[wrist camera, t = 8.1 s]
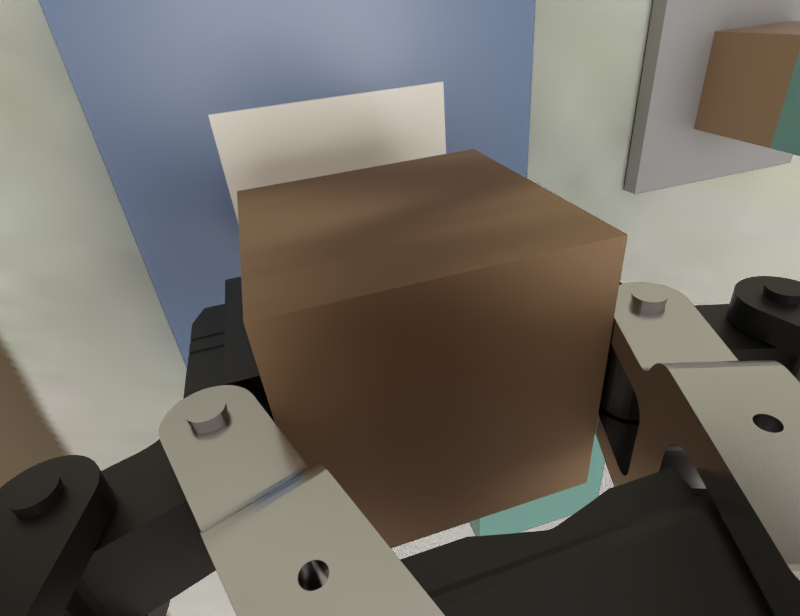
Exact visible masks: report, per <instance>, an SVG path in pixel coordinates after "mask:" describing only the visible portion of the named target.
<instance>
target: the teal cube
mask: <svg viewBox="0 0 800 616" xmlns="http://www.w3.org/2000/svg"><path fill="white" fill-rule="evenodd" d="M604 464H605V459H604V456H603V453H602V451H601V448H600V445H599V442H598V439H597V437H596V434H595V436H594V442H593V449H592V455H591V461H590V467H589V473H588V479H587V483H584V484H581V485H578V486H575V487H572V488H569V489H566V490H563V491H560V492H557V493H554V494H551V495H548V496H545V497H542V498H539V499H536V500H533V501H530V502H527V503H524V504H521V505H518V506H515V507H512V508H510V509H507V510H504V511H501V512H498V513H495V514H492V515H489V516H486V517H483V518H480V519H477V520H474V521H471V522H469V523H470V525H471V527H472V529H473V532H474V534H475V536H486V535H499V534H511V533H519V532H522V531H525V530H528V529H531V528H534V527H537V526H540V525H543V524H546V523H549V522H552V521H555V520H558V519H561V518H564V517H567V516H570V515H572V514H575V513H576V512H577V511H579V510H580V509H582V508H583V507H584V506H586V505H587V504H589V503H590V502H591V501H593V500H594V499H595V498H597V497H598V495H599V490H600V485H601V480H602V474H603V469H604Z"/></svg>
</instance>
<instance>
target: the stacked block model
mask: <svg viewBox="0 0 800 616" xmlns="http://www.w3.org/2000/svg"><path fill="white" fill-rule="evenodd" d="M793 154H794V155H798V156H800V0H653V6H652V13H651V19H650V26H649V32H648V38H647V45H646V51H645V58H644V64H643V71H642V77H641V84H640V90H639V96H638V103H637V109H636V116H635V122H634V129H633V135H632V141H631V148H630V154H629V161H628V167H627V174H626V180H625V187H624V190H627V191H629V192H631V193H633V194H638V193H643V192H648V191H653V190H658V189H663V188H668V187H673V186H678V185H683V184H688V183H692V182H697V181H702V180H707V179H712V178H717V177H722V176H727V175H732V174H737V173H742V172H747V171H751V170H756V169H761V168H766V167H771V166H776V165H781V164H786V163H790V162H791V159H792V156H793Z"/></svg>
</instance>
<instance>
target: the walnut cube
mask: <svg viewBox="0 0 800 616" xmlns="http://www.w3.org/2000/svg"><path fill="white" fill-rule="evenodd" d="M237 203H238V223H239V243H240V263H241V283H242V303H243V323H244V326H245V329H246V333H247V336H248V339H249V342H250V345H251V348H252V352H253V355H254V358H255V361H256V364H257V368H258V371H259V374H260V377H261V380H262V383H263V387H264V390H265V393H266V396H267V399H268V403H269V406H270V409H271V412H272V415H273V418H274V422H275V424H276V425H277V427H278V428H279V429H280V431H281V432H282V433H283V435H284V436H285V437H286V438H287V440H288V441H289V442H290V444H291V445H292V446H293V448H294V449H295V450H296V452H297V453H298V454H299V455H300V457H301V458H302V459H303V461H304V462H305V463H306V464H307V465H308V467H309V466H310V465H312V464H314V463H315V462H318V463H320V464H322V465H323V466H324V467H325V468H326V469H327V470H328V471H329V473H330V474H331V475H332V476H333V477H334V479H335V480H336V481H337V482H338V484H339V485H340V486H341V487H342V489H343V490H344V491H345V492H346V494H347V495H348V496H349V497H350V498H351V500H352V501H353V502H354V503H355V505H356V506H357V507H358V508H359V510H360V511H361V512H362V513H363V515H364V516H365V517H366V518H367V520H368V521H369V522H370V523H371V525H372V526H373V527H374V528H375V530H376V531H377V532H378V533H379V534H380V536H381V537H382V538H383V539H384V541H385V542H386V543H387V544H388V546H389V547H390V548H393V547H396V546H399V545H402V544H405V543H408V542H411V541H414V540H417V539H420V538H423V537H426V536H429V535H432V534H435V533H438V532H441V531H444V530H447V529H450V528H453V527H456V526H459V525H462V524H465V523H468V522H471V521H474V520H477V519H480V518H483V517H486V516H489V515H492V514H495V513H498V512H501V511H504V510H507V509H510V508H512V507H515V506H518V505H521V504H524V503H527V502H530V501H533V500H536V499H539V498H542V497H545V496H548V495H551V494H554V493H557V492H560V491H563V490H566V489H569V488H572V487H575V486H578V485H581V484H584V483H587V479H588V473H589V467H590V461H591V455H592V449H593V442H594V436H595V430H596V424H597V418H598V412H599V406H600V400H601V394H602V387H603V381H604V375H605V369H606V363H607V357H608V351H609V345H610V339H611V332H612V326H613V320H614V314H615V308H616V302H617V296H618V290H619V284H620V277H621V271H622V265H623V259H624V253H625V247H626V241H627V234H625V233H623V232H622V231H620V230H618V229H616V228H614V227H613V226H611V225H609V224H607V223H606V222H604V221H602V220H600V219H598V218H597V217H595V216H593V215H591V214H589V213H588V212H586V211H584V210H582V209H581V208H579V207H577V206H575V205H573V204H572V203H570V202H568V201H566V200H564V199H563V198H561V197H559V196H557V195H555V194H554V193H552V192H550V191H548V190H547V189H545V188H543V187H541V186H539V185H538V184H536V183H534V182H532V181H530V180H529V179H527V178H525V177H523V176H521V175H520V174H518V173H516V172H514V171H513V170H511V169H509V168H507V167H505V166H504V165H502V164H500V163H498V162H496V161H495V160H493V159H491V158H489V157H487V156H486V155H484V154H482V153H480V152H479V151H477V150H475V149H470V150H465V151H459V152H453V153H448V154H442V155H437V156H431V157H425V158H420V159H414V160H409V161H403V162H398V163H392V164H386V165H381V166H375V167H370V168H364V169H358V170H353V171H347V172H342V173H336V174H330V175H325V176H319V177H314V178H308V179H302V180H297V181H291V182H286V183H280V184H275V185H269V186H263V187H258V188H252V189H247V190H241V191H237Z"/></svg>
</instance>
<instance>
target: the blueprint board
mask: <svg viewBox="0 0 800 616" xmlns="http://www.w3.org/2000/svg"><path fill="white" fill-rule="evenodd" d="M39 3H40V5H41V8H42V10H43V13H44V15H45V18H46V20H47V23H48V25H49V28H50V30H51V33H52V35H53V38H54V40H55V43H56V45H57V47H58V50H59V52H60V55H61V57H62V60H63V62H64V65H65V67H66V70H67V72H68V75H69V77H70V80H71V82H72V85H73V87H74V90H75V92H76V95H77V97H78V100H79V102H80V104H81V107H82V109H83V112H84V114H85V117H86V119H87V122H88V124H89V127H90V129H91V132H92V134H93V137H94V139H95V142H96V144H97V147H98V149H99V152H100V154H101V157H102V159H103V162H104V164H105V166H106V169H107V171H108V174H109V176H110V179H111V181H112V184H113V186H114V189H115V191H116V194H117V196H118V199H119V201H120V204H121V206H122V209H123V211H124V214H125V216H126V219H127V221H128V223H129V226H130V228H131V231H132V233H133V236H134V238H135V241H136V243H137V246H138V248H139V251H140V253H141V256H142V258H143V261H144V263H145V266H146V268H147V271H148V273H149V276H150V278H151V281H152V283H153V285H154V288H155V290H156V293H157V295H158V298H159V300H160V303H161V305H162V308H163V310H164V313H165V315H166V318H167V320H168V323H169V325H170V328H171V330H172V333H173V335H174V338H175V340H176V342H177V345H178V347H179V350H180V352H181V355H182V357H183V360H184V362H185V365H186V367H187V365H188V356H190V355H189V347H190V343H191V340H190V338H191V330H192V323H193V322H194V321H195V320H196V318H197V317H198V316H199V314H200V313H201V312H202V311H203V309H204V308H207V307H212V306H216V305H221V304H225V280H226V279H231V278H236V277H241V263H240V243H239V223H238V203H237V191H241V190H247V189H252V188H258V187H263V186H269V185H275V184H280V183H286V182H291V181H297V180H302V179H308V178H314V177H319V176H325V175H330V174H336V173H342V172H347V171H353V170H358V169H364V168H370V167H375V166H381V165H386V164H392V163H398V162H403V161H409V160H414V159H420V158H425V157H431V156H437V155H442V154H448V153H453V152H459V151H465V150H470V149H475V150H477V151H479V152H480V153H482V154H484V155H486V156H487V157H489V158H491V159H493V160H495V161H496V162H498V163H500V164H502V165H504V166H505V167H507V168H509V169H511V170H513V171H514V172H516V173H518V174H520V175H521V176H523V177H525V178H527V165H528V144H529V123H530V102H531V81H532V61H533V40H534V19H535V0H39Z"/></svg>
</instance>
